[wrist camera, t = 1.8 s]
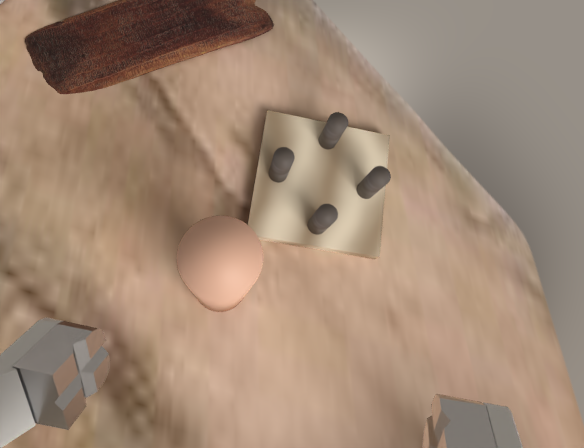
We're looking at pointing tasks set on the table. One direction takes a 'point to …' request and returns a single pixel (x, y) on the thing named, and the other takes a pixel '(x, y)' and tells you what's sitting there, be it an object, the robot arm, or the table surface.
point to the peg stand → (320, 185)
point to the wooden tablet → (138, 39)
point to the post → (220, 261)
